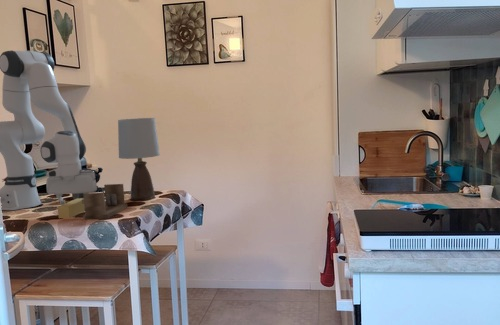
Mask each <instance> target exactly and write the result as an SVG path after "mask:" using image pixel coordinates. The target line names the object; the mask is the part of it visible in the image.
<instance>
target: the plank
mask: <svg viewBox="0 0 500 325" xmlns="http://www.w3.org/2000/svg"><path fill="white" fill-rule="evenodd" d="M83 199H84V197H82V198H77V199H72V200H70V201H68V202H65V204H63V205H59V206H57V214H58V216H57V217H58V219H60V218H63V219H71V218H73V217H75V216H77V215H79V214H81V213H83V212H85V207H84V204H82V200H83ZM70 217H71V218H70Z"/></svg>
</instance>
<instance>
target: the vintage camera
mask: <svg viewBox="0 0 500 325" xmlns="http://www.w3.org/2000/svg"><path fill="white" fill-rule="evenodd" d="M80 161H81V170H91V171H93V172H94V173H95V180H96V184H97V183H99V182H100V179H101V174H102V172H103V170H104V168H102V167H97V170H95V169H91V168H88V164H87V162H88V160H87V159H86V157H85V156H83V158H82V159H81V160H80ZM90 173H91V172H90ZM100 173H101V174H100ZM94 193H104V194H105V188H104V187H102V186H101V187H99V185H97V190H96V191H95V192H94ZM71 197H72V200H75V199H77V198H84V197H83V193H74V194H71ZM104 197H105V195H104Z"/></svg>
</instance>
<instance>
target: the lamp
mask: <svg viewBox="0 0 500 325" xmlns="http://www.w3.org/2000/svg"><path fill="white" fill-rule="evenodd" d="M117 123H118V124H117V128H118V129H117V130H118V131H117V132H118V133H117V134H118V158H119V159H123V160H125V159H126V160H130V159H131V160H133V159H137V161H135V162H133V166H134V169H133V172H132V175H131V180H130V182H131V183H130V184H131V185H130V199H131V200H133V201H134V200H135V201H136V200H138V201H139V200H148V199H149V200H150V199H153V198H155V196H156V193H155V187H154V184H153V179H152V176H151V174H150V171H149V169H148V168H147V166H146V165H147V164H148V163H147V161H143V159H147V158H154V157H158V156H161V154H160V153H161V152H160V146H159V139H158V133H157V132H158V131H157V125H156V118H155V117H142V118H141V117H138V118H126V119H125V118H122V119H117Z"/></svg>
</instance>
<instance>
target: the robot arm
mask: <svg viewBox="0 0 500 325" xmlns="http://www.w3.org/2000/svg"><path fill="white" fill-rule="evenodd" d="M54 70H55V61H54V58H53V56H52V55H51V54H49V53H47V52H43V51H35V50H6V51H3V52H1V54H0V71H1V72H2V74H3V78H2V96H1V97H2V101H1V102H2V106H3V108H4V109H5V111H7V112H9V113H11V114H13V116H14V117H13V118H14V120H7V121H6V120H4V121H0V154H1V155H2V157H3V159H4V162H5V169H6V174H7V175H6V177H5V178H2V179H1V180H2V183H3V182H4V185H2V187H0V197H1V203H2V210H1V211H16V210H22V209H27V208H32V207H33V208H34V207H37V206H39V205H42V201H41V199H40V197H39V193H38V189H37V176H36V173H35V168H34V159H33V158H32V156H31V155H30V154H29V153H25V152H23V151H22V149H21V147H20V145H22V146H23V145H33V144H35V143H38V142H41V141H43V139H44V138H45V135H46V129H45V126H44V124H43V123H42V122H41V121H39V119H37V118H36V116H35V115H34V113H33V109H32V105H33V106H35V107H36V108H37V109H39V110H40V111H42V112H46V113H49V114H52V115H54V116H55V117H57V118H58V119H59V120H60V121H61V124H62V127H63V130H60V131H57V132H55V135H54V136H53V137H52V138H50V139H48V140H46V141H44V142H43V143H42V144H41V146H40V156H41V159H42V160H44V161H45V162H46V163H49V164H56V163H57V168H53V169H52V170H49V171H47V172H46V177H47V178H46V182H45V183H46V193H47V194H49V195H50V196H51V195H56V199H57V200H58V201H59V206H61V205H63V204H65V203H66V200H65V199H63V197H62V196H63V195H68V194H69V195H70V194H71V195H72V194H74V193H83V194H84V193H96V192H95V191H96V190H97V186H98V185H97V183H96V180H95V173H94V172H93V171H91V170H92V169H91V170H81V161H80V160H81V159H82V158H83V157H85V154H86V152H87V147H86V143H85V142H84V140H83V138H82V136H81V134H80V130H79V128H78V125H77V123H76V120H75V116H74V114H73V111H72V109H71V107H70V105H69V103H68V102H67V101H65V100H64V99H63V96H62V95H61V93H60V90H59V87H58V82H57V78H56V75H55V73H54ZM90 172H91V173H90ZM82 204H84V199H83V200H82Z"/></svg>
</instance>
